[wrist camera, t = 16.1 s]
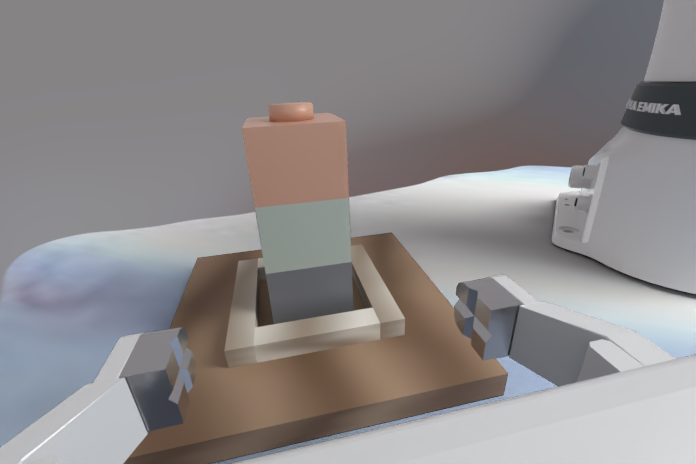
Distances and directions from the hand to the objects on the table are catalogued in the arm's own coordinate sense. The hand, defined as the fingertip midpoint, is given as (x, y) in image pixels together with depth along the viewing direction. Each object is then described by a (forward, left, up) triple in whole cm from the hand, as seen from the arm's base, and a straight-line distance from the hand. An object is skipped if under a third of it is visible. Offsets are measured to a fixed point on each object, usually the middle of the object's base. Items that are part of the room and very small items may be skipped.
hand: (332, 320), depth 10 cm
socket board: (-10, -6, -9) cm, 15 cm away
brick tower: (-10, -6, -7) cm, 14 cm away
